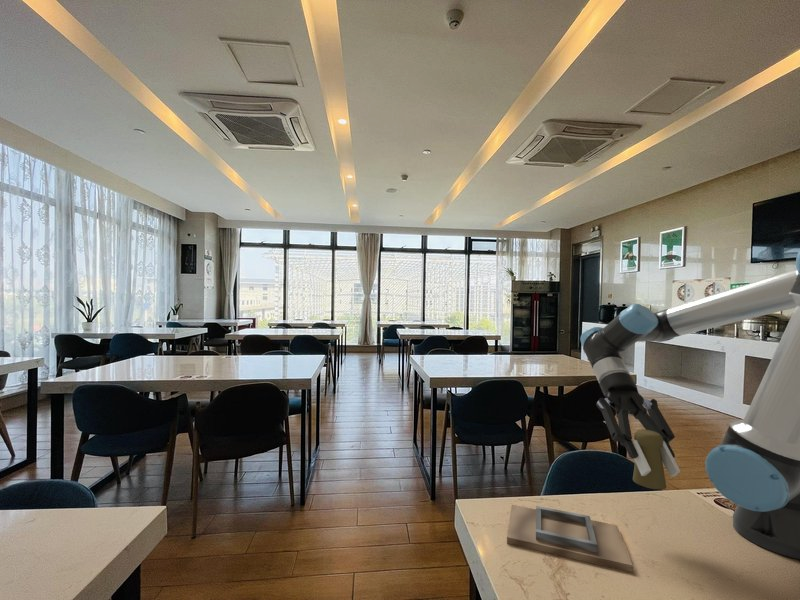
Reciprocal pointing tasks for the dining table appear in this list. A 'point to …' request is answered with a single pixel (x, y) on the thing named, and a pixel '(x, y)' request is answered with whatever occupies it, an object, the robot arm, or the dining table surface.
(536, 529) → the condiment stand
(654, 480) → the olive pawn shaped shaker
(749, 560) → the dining table surface
